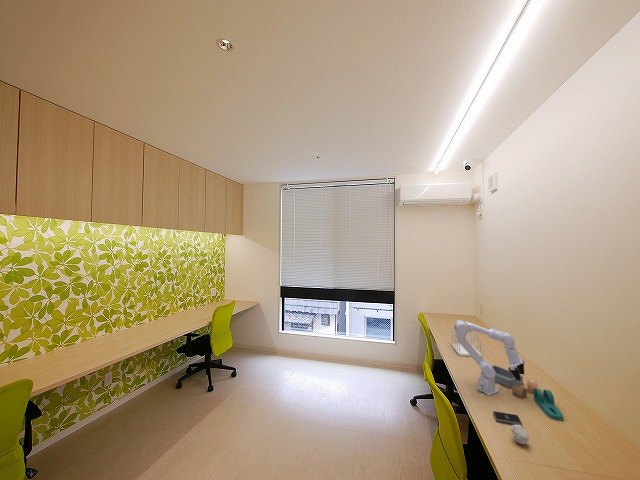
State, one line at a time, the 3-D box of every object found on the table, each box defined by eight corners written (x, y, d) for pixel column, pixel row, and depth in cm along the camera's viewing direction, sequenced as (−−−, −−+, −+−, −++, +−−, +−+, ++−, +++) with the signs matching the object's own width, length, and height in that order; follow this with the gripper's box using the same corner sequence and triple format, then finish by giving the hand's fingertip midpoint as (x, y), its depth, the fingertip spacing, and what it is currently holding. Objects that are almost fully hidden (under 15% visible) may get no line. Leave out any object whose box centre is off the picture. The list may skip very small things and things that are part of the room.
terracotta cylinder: (535, 395, 155) (534, 383, 155) (525, 391, 159) (524, 379, 160) (539, 393, 157) (539, 381, 157) (530, 389, 161) (529, 377, 162)
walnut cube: (522, 399, 151) (521, 390, 151) (512, 395, 156) (512, 386, 156) (527, 397, 153) (526, 388, 154) (517, 393, 158) (517, 384, 158)
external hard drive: (492, 414, 139) (492, 410, 139) (518, 419, 135) (517, 415, 135) (496, 423, 132) (496, 418, 132) (522, 427, 128) (522, 423, 128)
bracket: (533, 400, 150) (533, 386, 151) (548, 402, 148) (547, 387, 149) (549, 419, 133) (548, 403, 134) (566, 422, 131) (565, 406, 132)
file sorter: (482, 357, 209) (481, 338, 209) (458, 356, 213) (458, 336, 213) (472, 346, 233) (471, 328, 234) (451, 345, 237) (450, 327, 238)
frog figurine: (520, 436, 122) (519, 421, 122) (533, 448, 115) (532, 431, 115) (507, 437, 122) (507, 421, 122) (519, 448, 115) (519, 432, 115)
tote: (510, 388, 162) (509, 380, 163) (482, 376, 178) (482, 369, 179) (523, 383, 168) (522, 375, 168) (495, 372, 184) (494, 365, 184)
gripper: (516, 359, 150) (525, 384, 149) (523, 349, 160) (531, 372, 158) (502, 358, 156) (510, 382, 154) (510, 348, 165) (518, 370, 163)
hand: (520, 377), depth 157 cm, fingers open, 7 cm apart
